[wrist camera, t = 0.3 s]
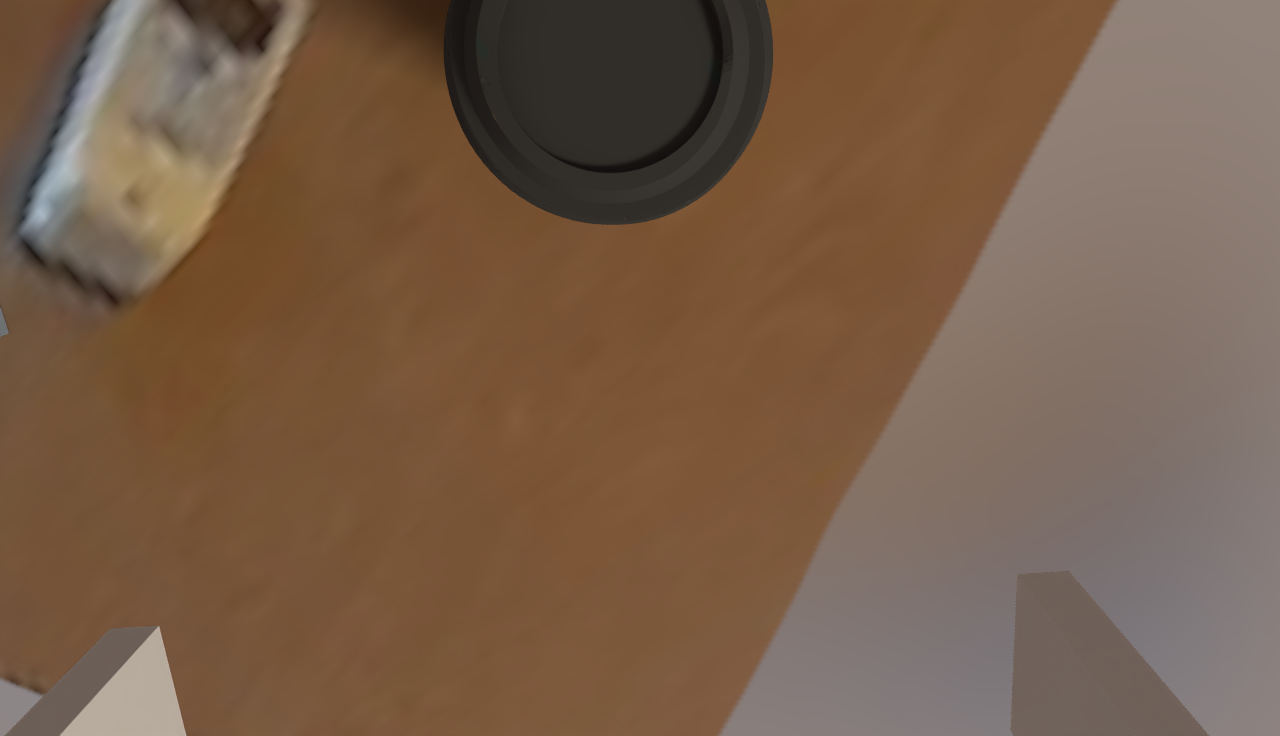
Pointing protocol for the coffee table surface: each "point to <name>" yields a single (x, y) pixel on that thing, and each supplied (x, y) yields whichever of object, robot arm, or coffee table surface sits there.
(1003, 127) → the coffee table surface
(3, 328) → the grey block with hole
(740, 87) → the coffee cup
